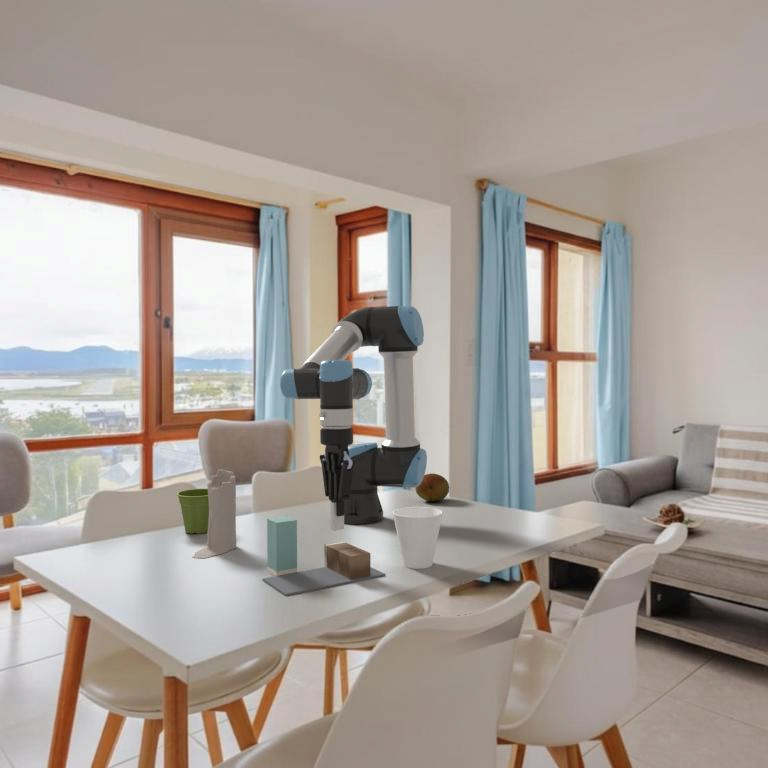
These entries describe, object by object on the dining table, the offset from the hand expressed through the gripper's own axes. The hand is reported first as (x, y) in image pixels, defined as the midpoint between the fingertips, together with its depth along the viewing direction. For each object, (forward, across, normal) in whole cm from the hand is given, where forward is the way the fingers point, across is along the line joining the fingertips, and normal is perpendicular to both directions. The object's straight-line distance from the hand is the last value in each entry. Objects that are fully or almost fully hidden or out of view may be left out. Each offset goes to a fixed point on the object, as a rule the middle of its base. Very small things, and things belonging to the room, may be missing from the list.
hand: (337, 529), depth 151 cm
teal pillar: (+9, -4, -12) cm, 16 cm away
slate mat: (+9, +5, -6) cm, 12 cm away
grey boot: (+9, -30, -19) cm, 37 cm away
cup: (+9, +8, +17) cm, 21 cm away
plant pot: (+9, -53, -16) cm, 56 cm away
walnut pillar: (+6, -1, 0) cm, 6 cm away
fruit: (+10, -51, +66) cm, 84 cm away
